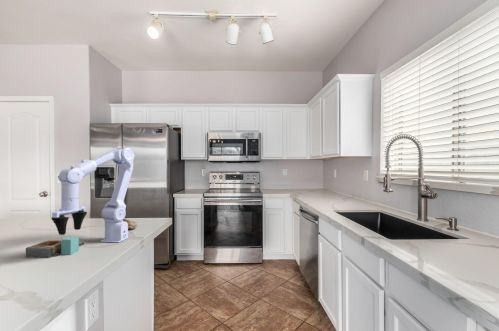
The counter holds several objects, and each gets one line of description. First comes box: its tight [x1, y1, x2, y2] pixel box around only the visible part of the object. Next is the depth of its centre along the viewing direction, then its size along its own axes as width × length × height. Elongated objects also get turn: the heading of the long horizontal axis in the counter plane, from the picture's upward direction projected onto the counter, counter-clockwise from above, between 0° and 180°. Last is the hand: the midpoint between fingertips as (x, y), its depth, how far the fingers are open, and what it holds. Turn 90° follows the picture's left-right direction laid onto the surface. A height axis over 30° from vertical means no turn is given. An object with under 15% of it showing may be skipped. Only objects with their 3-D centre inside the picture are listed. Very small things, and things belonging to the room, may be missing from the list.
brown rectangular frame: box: [30, 239, 61, 256], centre depth 99 cm, size 9×8×4 cm
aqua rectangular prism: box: [60, 236, 80, 256], centre depth 99 cm, size 4×4×6 cm
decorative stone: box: [123, 218, 138, 230], centre depth 139 cm, size 10×4×15 cm
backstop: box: [25, 241, 85, 259], centre depth 102 cm, size 12×16×4 cm
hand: (70, 231), depth 99 cm, fingers open, 7 cm apart
